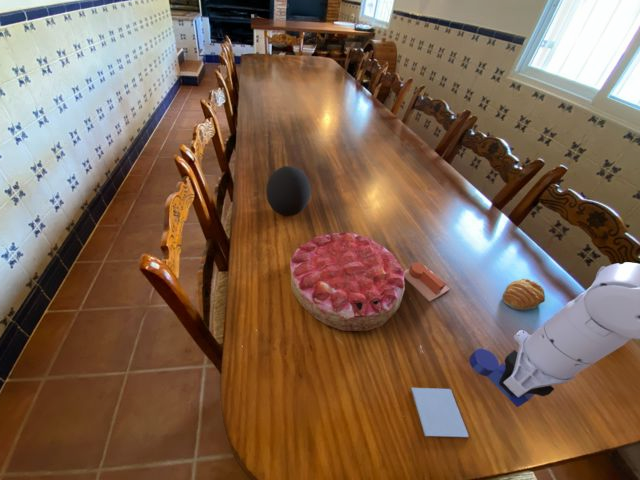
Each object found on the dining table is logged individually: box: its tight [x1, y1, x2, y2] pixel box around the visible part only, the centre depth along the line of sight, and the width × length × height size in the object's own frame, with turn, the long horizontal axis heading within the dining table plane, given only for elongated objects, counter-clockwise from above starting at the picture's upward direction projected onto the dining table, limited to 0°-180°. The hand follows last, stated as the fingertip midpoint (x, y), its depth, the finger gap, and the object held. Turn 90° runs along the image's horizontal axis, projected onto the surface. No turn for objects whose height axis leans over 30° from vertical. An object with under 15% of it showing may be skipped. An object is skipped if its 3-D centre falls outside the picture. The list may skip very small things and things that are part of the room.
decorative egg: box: [265, 165, 312, 217], centre depth 83 cm, size 12×12×15 cm
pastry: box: [502, 278, 546, 311], centre depth 68 cm, size 9×7×4 cm
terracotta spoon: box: [408, 261, 447, 295], centre depth 70 cm, size 8×4×3 cm, turn 30°
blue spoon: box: [468, 348, 536, 408], centre depth 47 cm, size 8×4×3 cm, turn 30°
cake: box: [289, 231, 406, 332], centre depth 66 cm, size 25×25×8 cm
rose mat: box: [404, 267, 450, 303], centre depth 71 cm, size 9×7×1 cm
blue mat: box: [410, 387, 470, 439], centre depth 49 cm, size 7×7×1 cm
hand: (510, 384), depth 45 cm, fingers closed on blue spoon, 2 cm apart
